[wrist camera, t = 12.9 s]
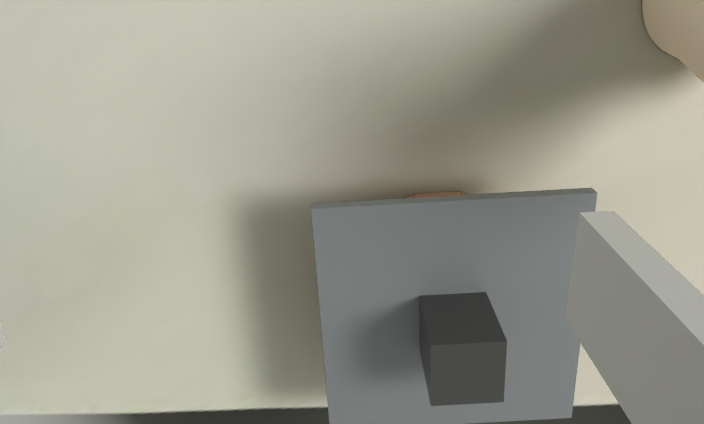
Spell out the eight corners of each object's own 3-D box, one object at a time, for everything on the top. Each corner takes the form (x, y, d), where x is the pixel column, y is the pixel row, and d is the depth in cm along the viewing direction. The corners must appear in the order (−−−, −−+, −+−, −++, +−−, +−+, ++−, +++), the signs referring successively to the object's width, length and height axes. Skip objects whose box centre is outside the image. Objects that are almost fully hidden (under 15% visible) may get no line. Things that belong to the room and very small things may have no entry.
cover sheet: (330, 422, 41) (329, 492, 36) (311, 203, 35) (306, 249, 29) (567, 409, 41) (601, 477, 36) (591, 187, 35) (637, 230, 29)
